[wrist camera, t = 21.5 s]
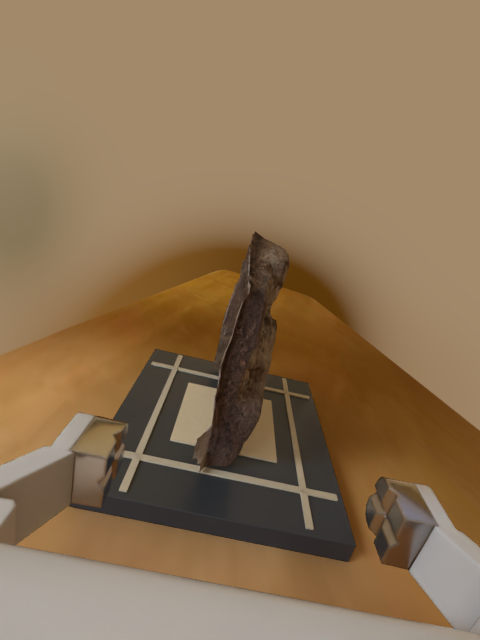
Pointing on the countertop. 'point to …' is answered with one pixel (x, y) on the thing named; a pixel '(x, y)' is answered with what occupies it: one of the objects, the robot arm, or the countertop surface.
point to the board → (239, 477)
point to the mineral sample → (244, 354)
